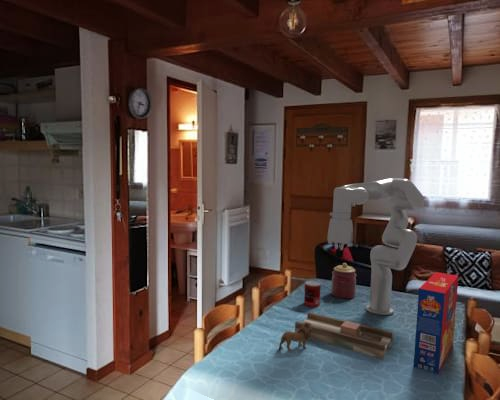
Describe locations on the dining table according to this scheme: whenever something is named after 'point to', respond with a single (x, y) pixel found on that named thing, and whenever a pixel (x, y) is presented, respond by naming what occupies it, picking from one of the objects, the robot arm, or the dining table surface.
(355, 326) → the block
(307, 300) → the canned food
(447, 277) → the pasta box
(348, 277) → the canister
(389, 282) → the robot arm
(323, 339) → the channel board
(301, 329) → the lion figurine
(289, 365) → the dining table surface
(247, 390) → the dining table surface
